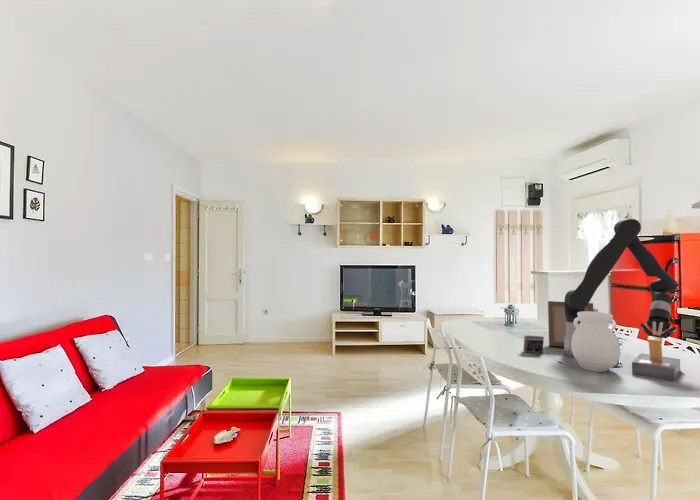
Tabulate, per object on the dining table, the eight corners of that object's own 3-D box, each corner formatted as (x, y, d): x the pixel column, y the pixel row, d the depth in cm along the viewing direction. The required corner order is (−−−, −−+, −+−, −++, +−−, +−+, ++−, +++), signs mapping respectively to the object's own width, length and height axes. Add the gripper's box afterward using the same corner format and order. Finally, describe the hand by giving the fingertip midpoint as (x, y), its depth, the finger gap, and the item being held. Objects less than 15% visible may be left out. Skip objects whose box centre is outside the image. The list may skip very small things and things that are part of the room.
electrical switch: (542, 352, 200) (542, 334, 199) (545, 355, 195) (545, 337, 194) (523, 351, 202) (523, 334, 201) (525, 354, 197) (525, 337, 196)
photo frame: (595, 351, 203) (595, 304, 203) (549, 347, 211) (549, 302, 212) (590, 345, 216) (589, 301, 217) (547, 342, 225) (547, 299, 226)
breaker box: (632, 373, 164) (632, 361, 164) (640, 363, 179) (640, 352, 179) (674, 381, 154) (674, 368, 154) (680, 370, 169) (680, 358, 169)
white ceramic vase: (582, 374, 162) (582, 315, 162) (564, 362, 180) (564, 309, 181) (630, 376, 159) (629, 317, 160) (606, 364, 178) (606, 310, 178)
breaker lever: (649, 360, 167) (647, 339, 164) (650, 356, 169) (648, 336, 166) (662, 362, 164) (661, 341, 161) (663, 358, 166) (662, 337, 163)
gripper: (640, 306, 177) (636, 336, 168) (678, 309, 168) (675, 341, 159) (642, 316, 181) (638, 346, 172) (679, 319, 171) (676, 351, 162)
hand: (656, 343), depth 165 cm, fingers closed
